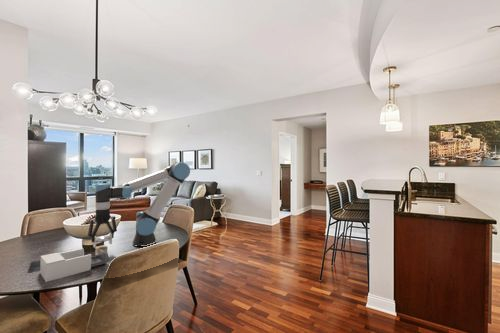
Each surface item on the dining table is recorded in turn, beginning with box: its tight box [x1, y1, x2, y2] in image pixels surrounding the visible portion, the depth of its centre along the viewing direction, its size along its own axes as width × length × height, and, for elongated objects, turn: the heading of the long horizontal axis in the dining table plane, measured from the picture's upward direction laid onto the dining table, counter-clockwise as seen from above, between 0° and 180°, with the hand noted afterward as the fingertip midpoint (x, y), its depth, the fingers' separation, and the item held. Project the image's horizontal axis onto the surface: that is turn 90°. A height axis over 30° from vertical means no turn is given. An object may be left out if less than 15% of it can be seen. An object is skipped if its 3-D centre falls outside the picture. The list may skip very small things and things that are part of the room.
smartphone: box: [27, 260, 41, 274], centre depth 125 cm, size 8×1×15 cm
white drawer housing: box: [39, 248, 92, 283], centre depth 119 cm, size 18×14×9 cm
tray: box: [91, 249, 109, 268], centre depth 126 cm, size 17×11×5 cm
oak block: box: [94, 244, 108, 256], centre depth 143 cm, size 5×5×5 cm
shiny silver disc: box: [96, 234, 110, 243], centre depth 143 cm, size 8×8×2 cm
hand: (102, 245), depth 143 cm, fingers closed on shiny silver disc, 8 cm apart
